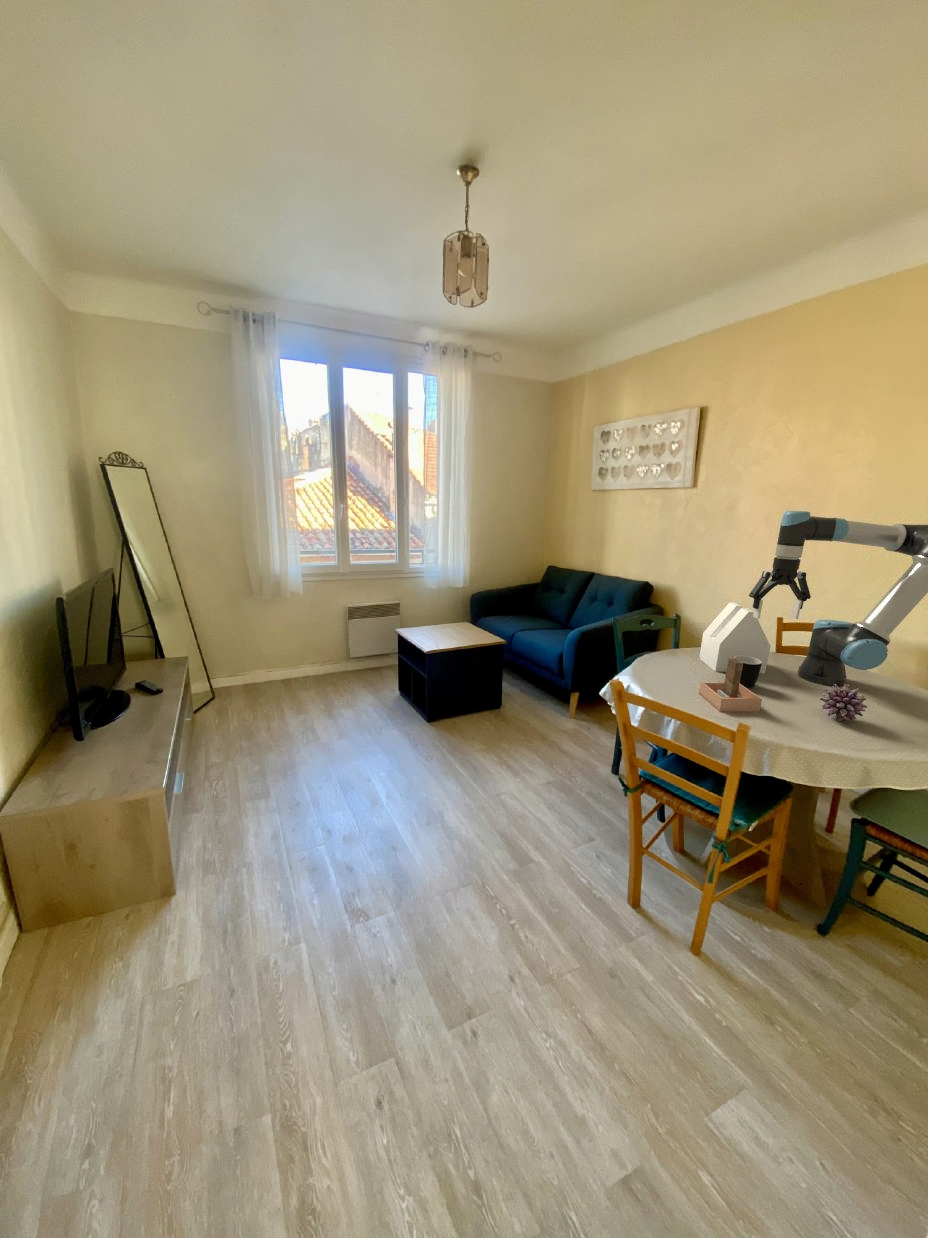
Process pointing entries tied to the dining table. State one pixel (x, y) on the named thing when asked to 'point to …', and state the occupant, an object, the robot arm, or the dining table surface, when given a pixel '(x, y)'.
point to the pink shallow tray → (724, 702)
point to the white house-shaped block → (734, 638)
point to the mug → (749, 670)
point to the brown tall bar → (732, 677)
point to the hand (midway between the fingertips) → (775, 618)
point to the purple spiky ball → (843, 702)
